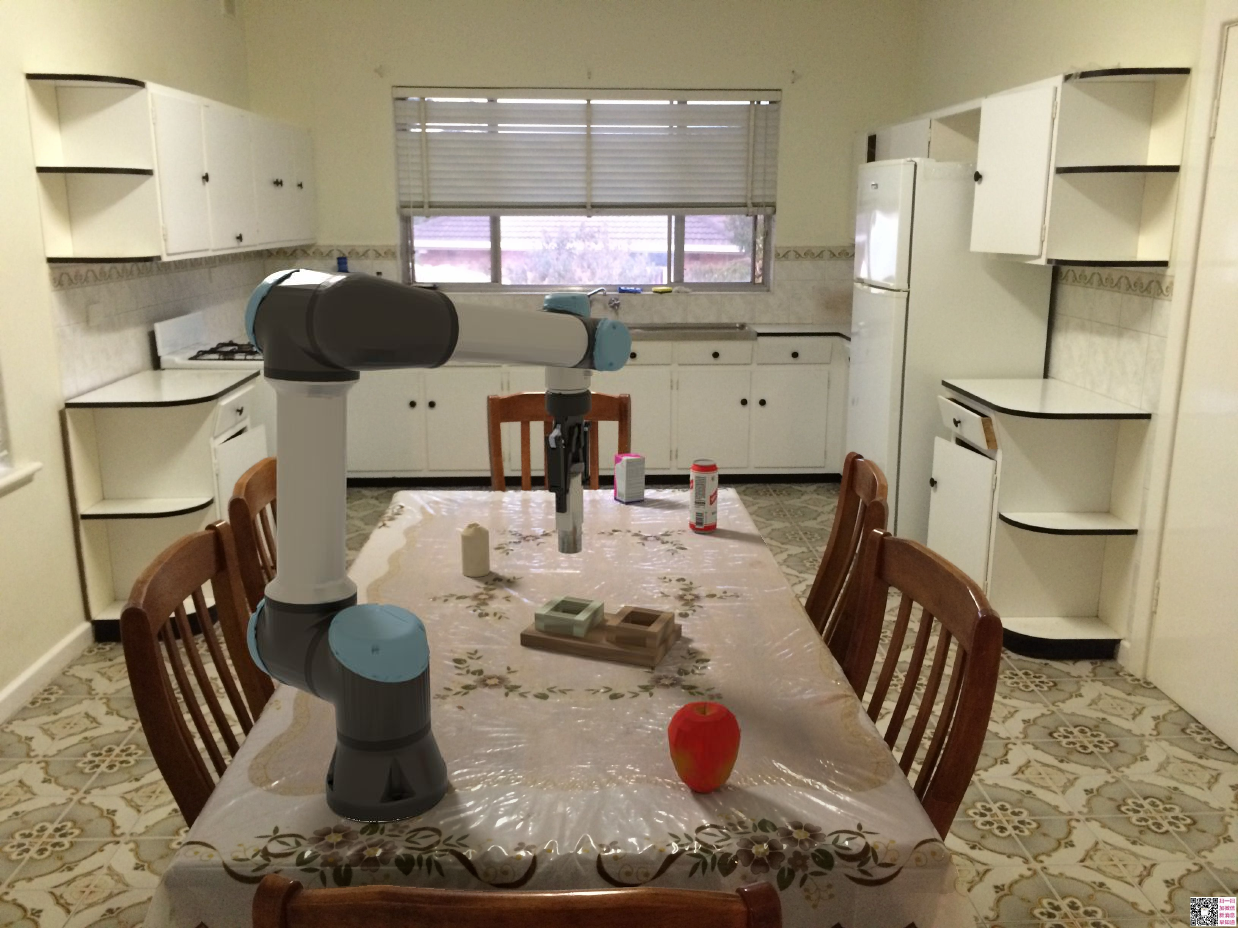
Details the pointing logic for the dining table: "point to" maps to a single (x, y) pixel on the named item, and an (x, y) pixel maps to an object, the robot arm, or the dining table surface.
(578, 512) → the lock pin
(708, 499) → the beer can
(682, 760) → the apple
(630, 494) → the supplement box
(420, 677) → the robot arm
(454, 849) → the dining table surface
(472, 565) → the candle
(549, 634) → the socket board
